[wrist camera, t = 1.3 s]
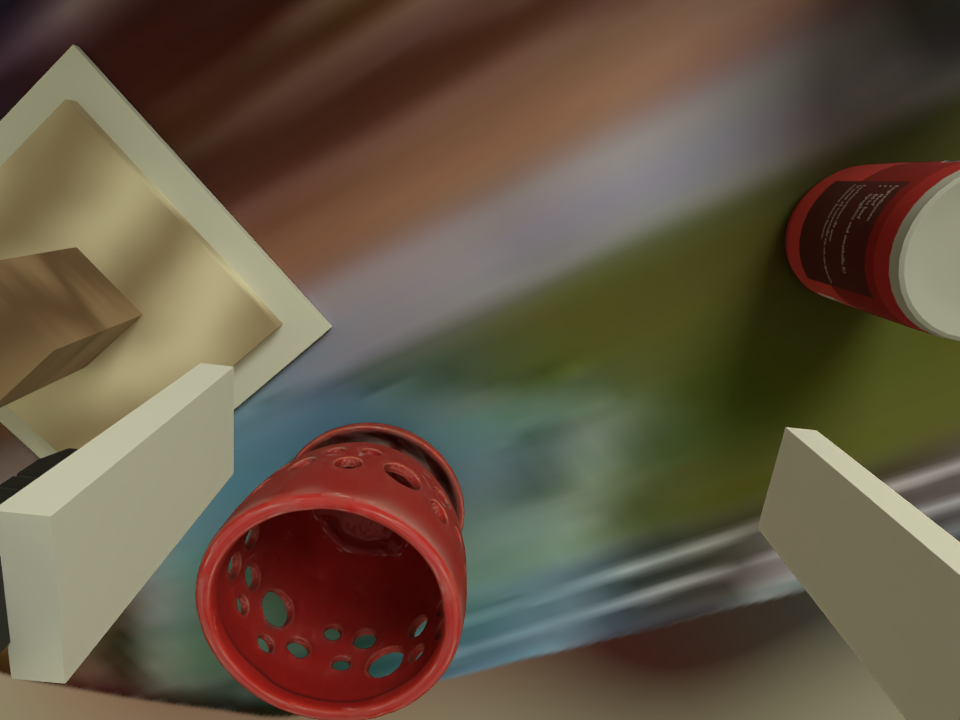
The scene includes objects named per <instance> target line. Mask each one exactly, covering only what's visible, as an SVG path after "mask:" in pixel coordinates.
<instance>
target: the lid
mask: <svg viewBox="0 0 960 720" xmlns="http://www.w3.org/2000/svg"><path fill="white" fill-rule="evenodd" d="M282 324H283V323H282V322H281V321H280V320H279V319H278V318H277V317H276V316H275V315H274V314H273V312H272V311H271V310H270V309H269V308H268V307H267V306H266V305H265V304H264V303H263V302H262V301H261V300H260V298H259V297H258V296H257V295H256V294H255V293H254V292H253V291H252V290H251V289H250V288H249V287H248V285H247V284H246V283H245V282H244V281H243V280H242V279H241V278H240V277H239V276H238V275H237V274H236V273H235V271H234V270H233V269H232V268H231V267H230V266H229V265H228V264H227V263H226V262H225V261H224V260H223V258H222V257H221V256H220V255H219V254H218V253H217V252H216V251H215V250H214V249H213V248H212V247H211V246H210V244H209V243H208V242H207V241H206V240H205V239H204V238H203V237H202V236H201V235H200V234H199V233H198V232H197V230H196V229H195V228H194V227H193V226H192V225H191V224H190V223H189V222H188V221H187V220H186V219H185V217H184V216H183V215H182V214H181V213H180V212H179V211H178V210H177V209H176V208H175V207H174V206H173V205H172V203H171V202H170V201H169V200H168V199H167V198H166V197H165V196H164V195H163V194H162V193H161V192H160V190H159V189H158V188H157V187H156V186H155V185H154V184H153V183H152V182H151V181H150V180H149V179H148V178H147V176H146V175H145V174H144V173H143V172H142V171H141V170H140V169H139V168H138V167H137V166H136V165H135V164H134V162H133V161H132V160H131V159H130V158H129V157H128V156H127V155H126V154H125V153H124V152H123V151H122V149H121V148H120V147H119V146H118V145H117V144H116V143H115V142H114V141H113V140H112V139H111V138H110V137H109V135H108V134H107V133H106V132H105V131H104V130H103V129H102V128H101V127H100V126H99V125H98V124H97V123H96V121H95V120H94V119H93V118H92V117H91V116H90V115H89V114H88V113H87V112H86V111H85V110H84V108H83V107H82V106H81V105H80V104H79V103H78V102H77V101H72V100H67V99H65V100H64V101H63V102H62V103H61V104H60V105H59V106H58V107H57V108H56V109H55V110H54V112H53V113H52V114H51V115H50V116H49V117H48V118H47V119H46V120H45V121H44V122H43V123H42V124H41V125H40V126H39V127H38V128H37V129H36V130H35V131H34V132H33V133H32V134H31V135H30V136H29V137H28V138H27V139H26V140H25V141H24V143H23V144H22V145H21V146H20V147H19V148H18V149H17V150H16V151H15V152H14V153H13V154H12V155H11V156H10V157H9V158H8V159H7V160H6V161H5V162H4V163H3V164H2V165H1V166H0V408H1V407H3V406H5V405H7V406H8V407H9V408H10V409H11V410H12V411H13V412H14V413H15V414H16V415H18V416H19V417H20V418H21V419H22V420H23V421H24V422H25V423H26V424H27V425H28V426H29V427H31V428H32V429H33V430H34V431H35V432H36V433H37V434H38V435H39V436H40V437H41V438H43V439H44V440H45V441H46V442H47V443H48V444H49V445H50V446H51V447H52V448H53V449H54V450H56V451H57V452H60V451H62V450H65V449H68V448H73V449H80V448H81V447H83V446H84V445H85V444H87V443H88V442H90V441H91V440H92V439H94V438H95V437H97V436H98V435H100V434H101V433H102V432H104V431H105V430H107V429H108V428H109V427H111V426H112V425H114V424H115V423H117V422H118V421H119V420H121V419H122V418H124V417H125V416H126V415H128V414H129V413H131V412H132V411H134V410H135V409H136V408H138V407H139V406H141V405H142V404H143V403H145V402H146V401H148V400H149V399H151V398H152V397H153V396H155V395H156V394H158V393H159V392H160V391H162V390H163V389H165V388H166V387H168V386H169V385H170V384H172V383H173V382H175V381H176V380H177V379H179V378H180V377H182V376H183V375H185V374H186V373H187V372H189V371H190V370H192V369H193V368H194V367H196V366H197V365H199V364H200V363H205V364H214V365H223V366H232V367H233V366H234V365H236V364H237V363H238V362H239V361H240V360H241V359H243V358H244V357H245V356H246V355H247V354H248V353H250V352H251V351H252V350H253V349H254V348H255V347H256V346H258V345H259V344H260V343H261V342H262V341H263V340H265V339H266V338H267V337H268V336H269V335H270V334H272V333H273V332H274V331H275V330H276V329H277V328H278V327H280V326H281V325H282Z"/></svg>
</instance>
